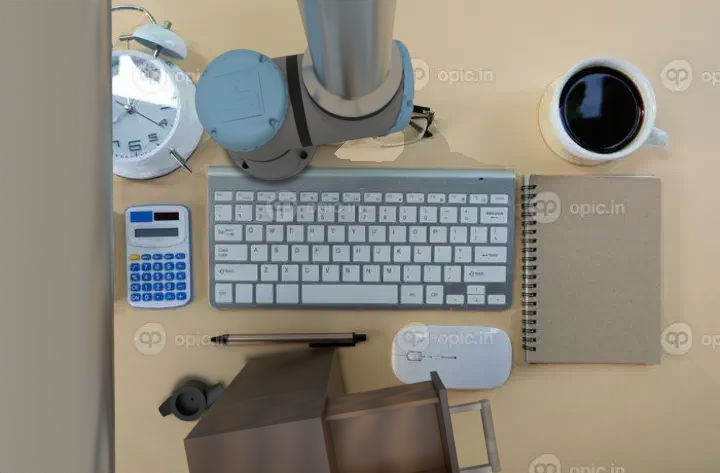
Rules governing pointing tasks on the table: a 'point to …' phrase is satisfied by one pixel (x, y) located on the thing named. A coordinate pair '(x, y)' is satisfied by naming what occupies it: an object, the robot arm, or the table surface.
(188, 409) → the dark grey rounded piece
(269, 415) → the slanted brown box
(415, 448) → the drawer
